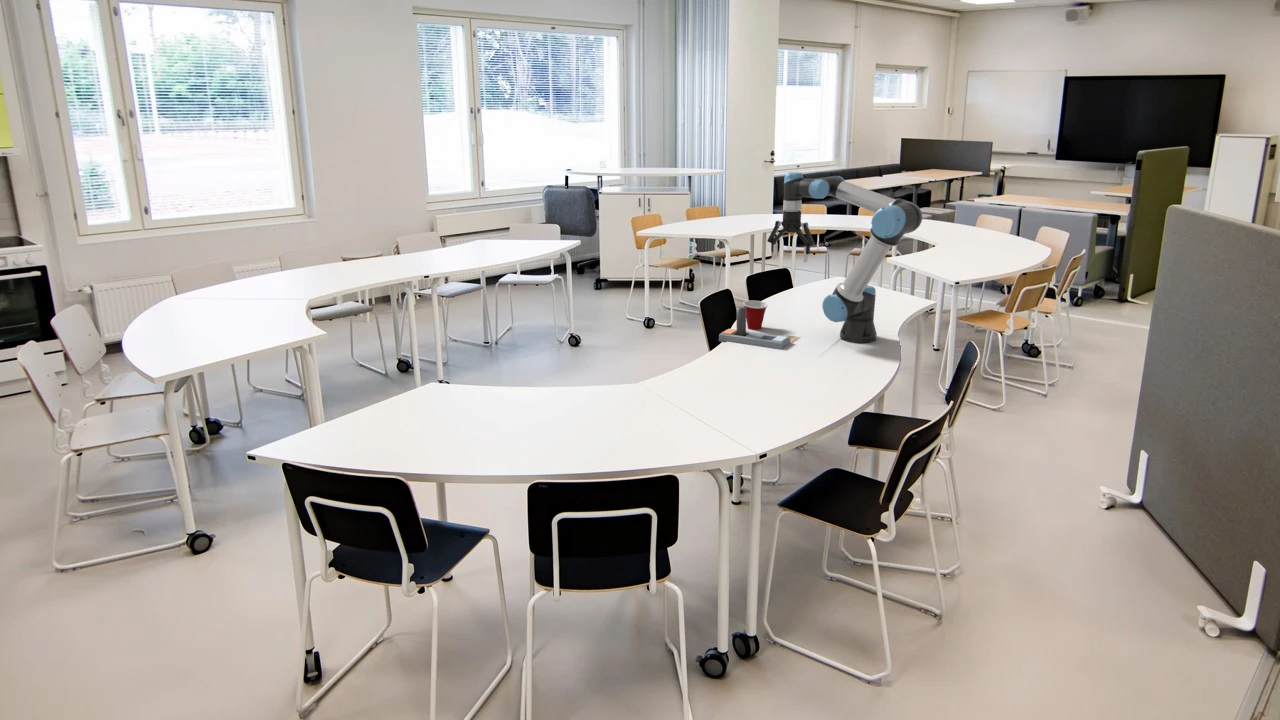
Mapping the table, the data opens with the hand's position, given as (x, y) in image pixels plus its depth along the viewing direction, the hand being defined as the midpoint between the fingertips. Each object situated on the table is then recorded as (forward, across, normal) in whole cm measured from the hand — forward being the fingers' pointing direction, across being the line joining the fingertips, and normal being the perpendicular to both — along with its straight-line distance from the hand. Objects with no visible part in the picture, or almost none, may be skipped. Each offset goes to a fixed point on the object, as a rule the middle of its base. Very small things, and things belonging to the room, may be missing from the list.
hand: (790, 260), depth 352 cm
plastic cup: (+32, +14, +3) cm, 35 cm away
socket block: (+32, +6, +22) cm, 39 cm away
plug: (+31, +12, +22) cm, 40 cm away
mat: (+32, -4, +12) cm, 34 cm away
